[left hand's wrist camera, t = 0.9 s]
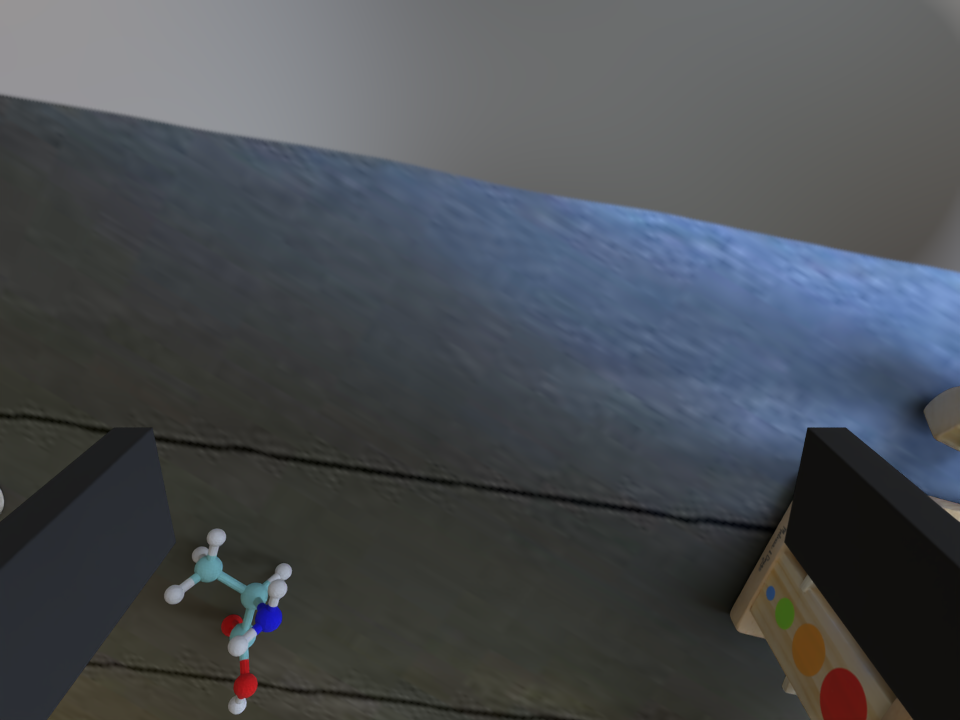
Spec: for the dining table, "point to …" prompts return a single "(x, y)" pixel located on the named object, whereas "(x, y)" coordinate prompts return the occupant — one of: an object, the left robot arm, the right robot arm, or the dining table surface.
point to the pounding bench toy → (826, 617)
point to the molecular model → (233, 625)
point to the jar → (1, 501)
